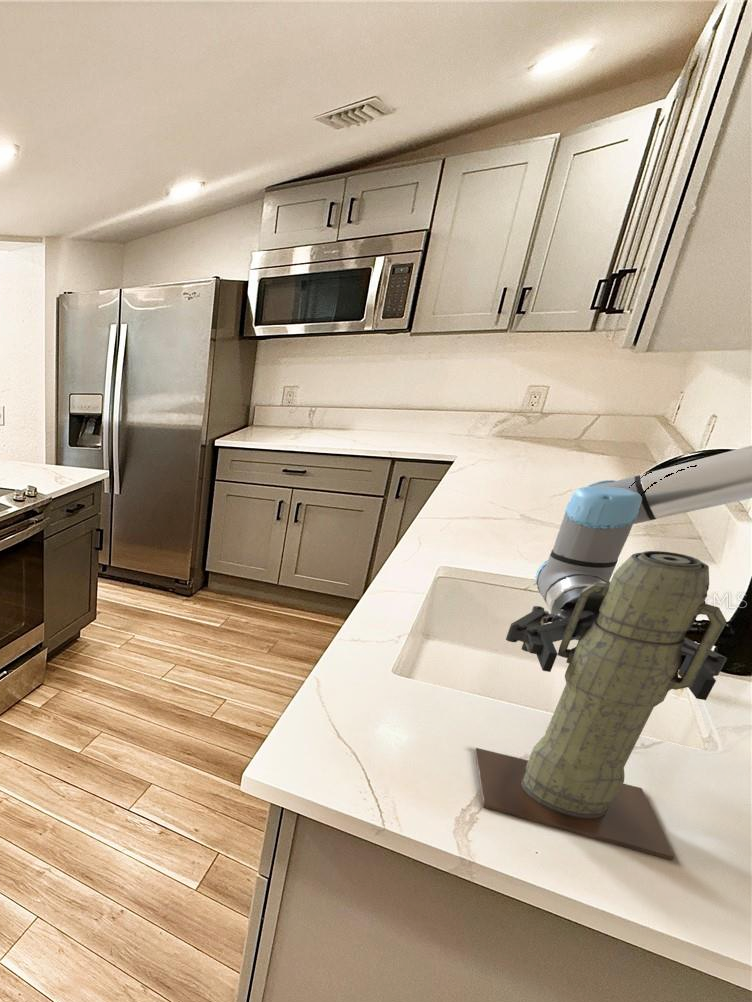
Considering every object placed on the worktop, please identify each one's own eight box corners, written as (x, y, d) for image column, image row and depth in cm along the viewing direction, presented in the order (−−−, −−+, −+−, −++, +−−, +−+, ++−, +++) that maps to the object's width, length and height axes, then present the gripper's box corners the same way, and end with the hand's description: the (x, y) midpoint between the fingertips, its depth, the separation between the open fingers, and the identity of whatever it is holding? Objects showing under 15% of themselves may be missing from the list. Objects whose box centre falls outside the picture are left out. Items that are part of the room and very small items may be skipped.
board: (640, 791, 85) (641, 787, 84) (672, 860, 74) (674, 857, 74) (474, 750, 94) (475, 747, 94) (482, 807, 84) (484, 803, 84)
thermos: (623, 836, 77) (756, 582, 63) (502, 791, 85) (596, 557, 71) (626, 799, 83) (750, 558, 68) (512, 761, 91) (601, 538, 76)
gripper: (697, 650, 86) (764, 730, 70) (471, 615, 99) (484, 676, 83) (722, 601, 83) (797, 674, 67) (485, 572, 96) (501, 627, 80)
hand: (624, 675), depth 75 cm, fingers open, 13 cm apart
